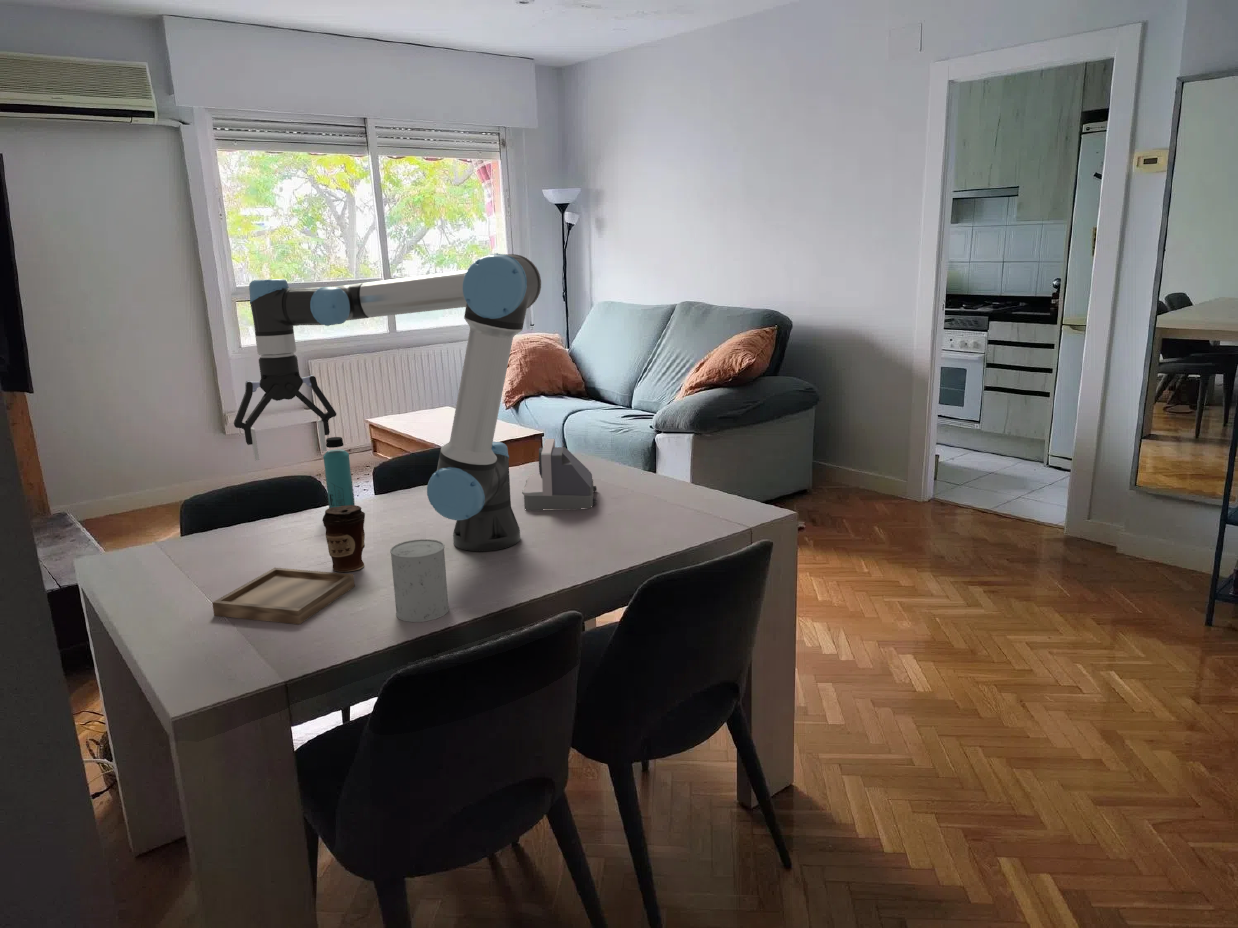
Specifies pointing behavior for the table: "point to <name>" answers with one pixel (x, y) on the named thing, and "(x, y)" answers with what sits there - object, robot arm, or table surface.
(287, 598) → the tray
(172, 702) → the table surface
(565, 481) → the instant camera
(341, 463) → the beverage bottle
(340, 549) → the coffee cup
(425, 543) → the white speckled cylinder
